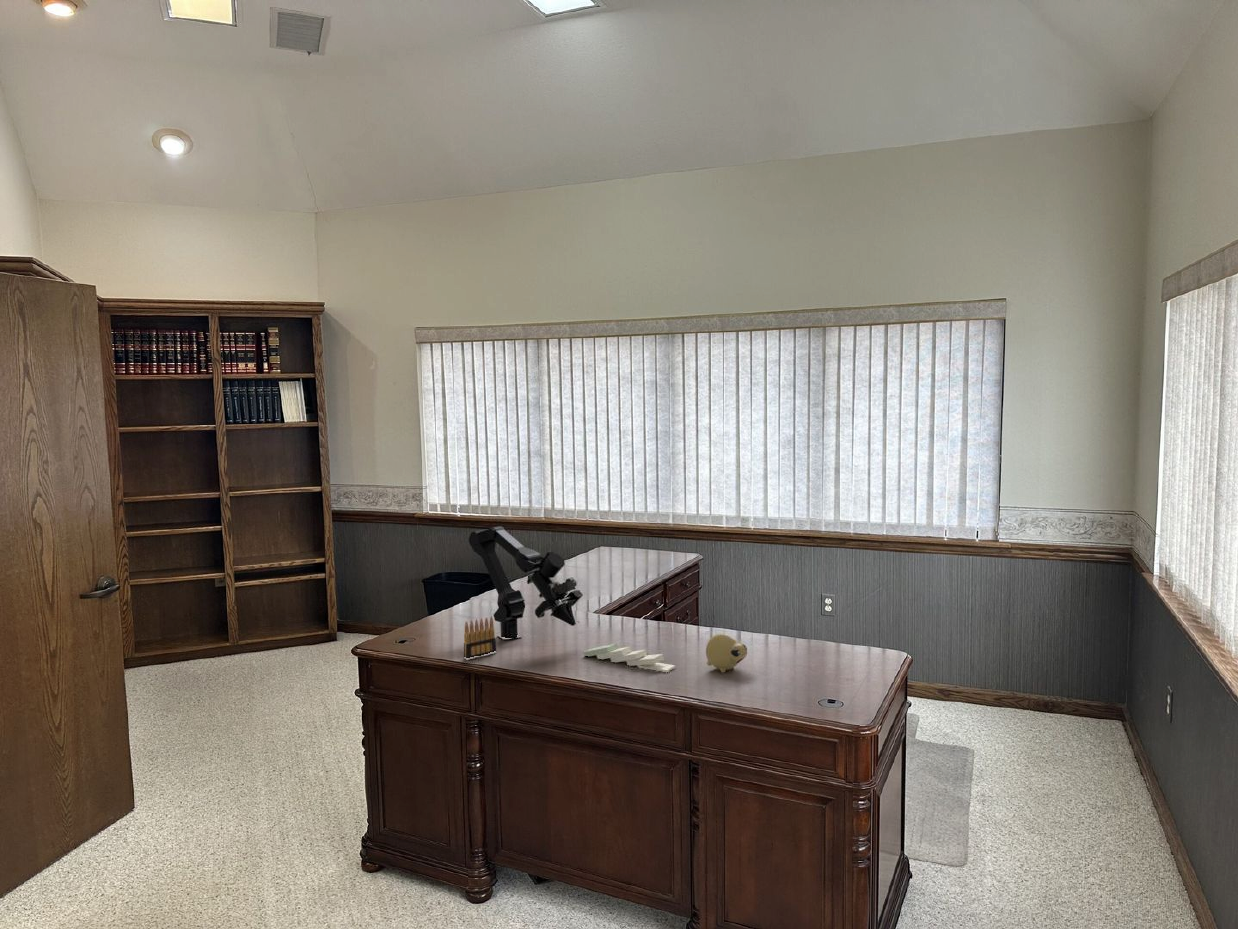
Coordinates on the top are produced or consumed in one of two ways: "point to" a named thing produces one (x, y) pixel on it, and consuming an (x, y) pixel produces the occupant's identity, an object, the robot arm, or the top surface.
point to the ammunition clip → (479, 639)
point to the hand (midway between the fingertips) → (574, 625)
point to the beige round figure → (724, 652)
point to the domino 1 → (600, 650)
